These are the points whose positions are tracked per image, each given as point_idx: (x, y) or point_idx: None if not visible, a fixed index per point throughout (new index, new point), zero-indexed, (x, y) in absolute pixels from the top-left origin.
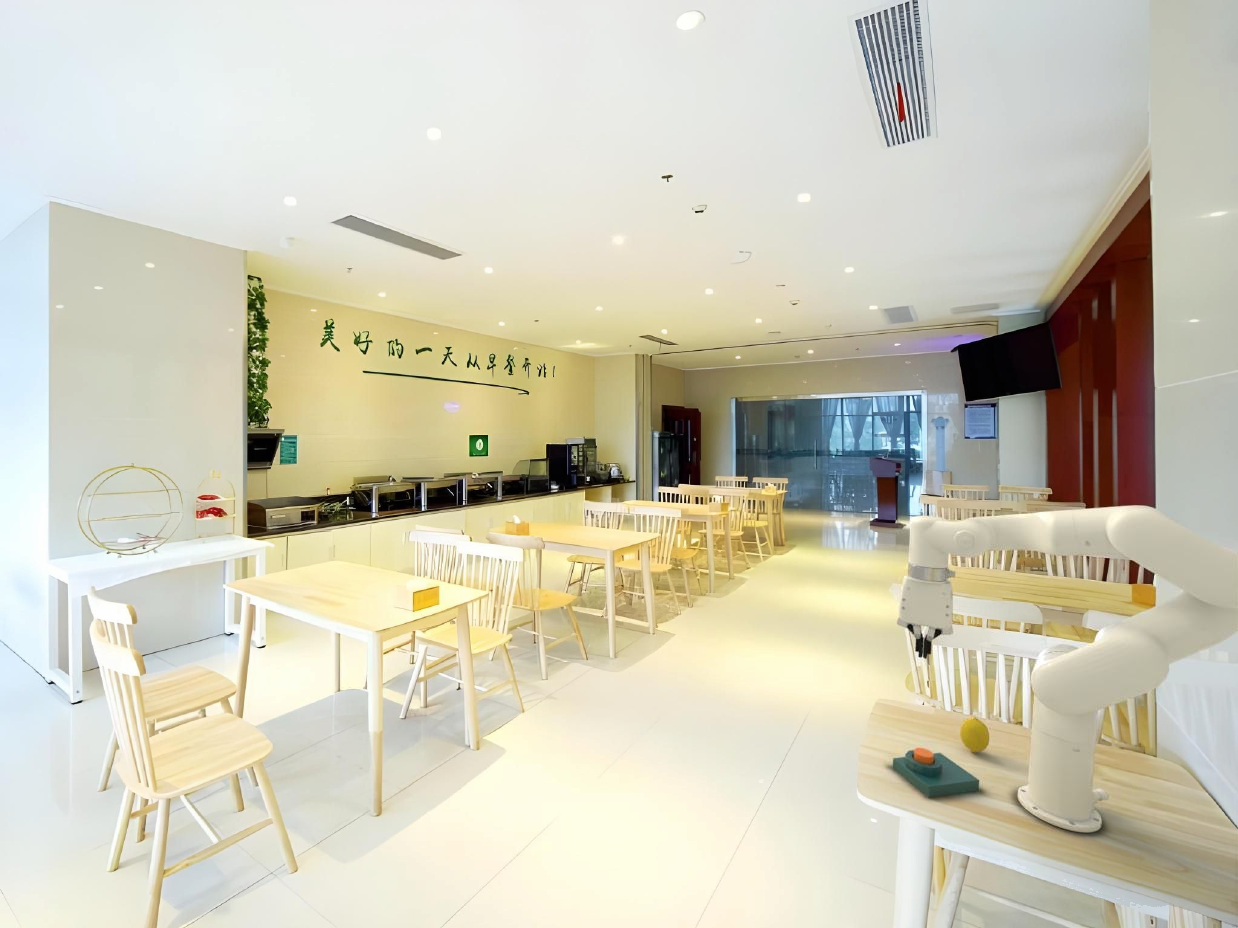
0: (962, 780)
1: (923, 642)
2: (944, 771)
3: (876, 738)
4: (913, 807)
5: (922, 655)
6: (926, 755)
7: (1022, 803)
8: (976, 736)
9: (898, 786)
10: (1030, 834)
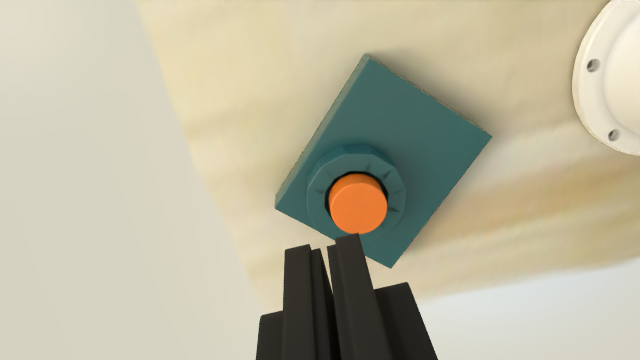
0: (453, 175)
1: (327, 322)
2: (405, 167)
3: (162, 58)
4: None
5: (332, 294)
6: (370, 221)
7: (583, 123)
8: None
9: None
10: (588, 221)
